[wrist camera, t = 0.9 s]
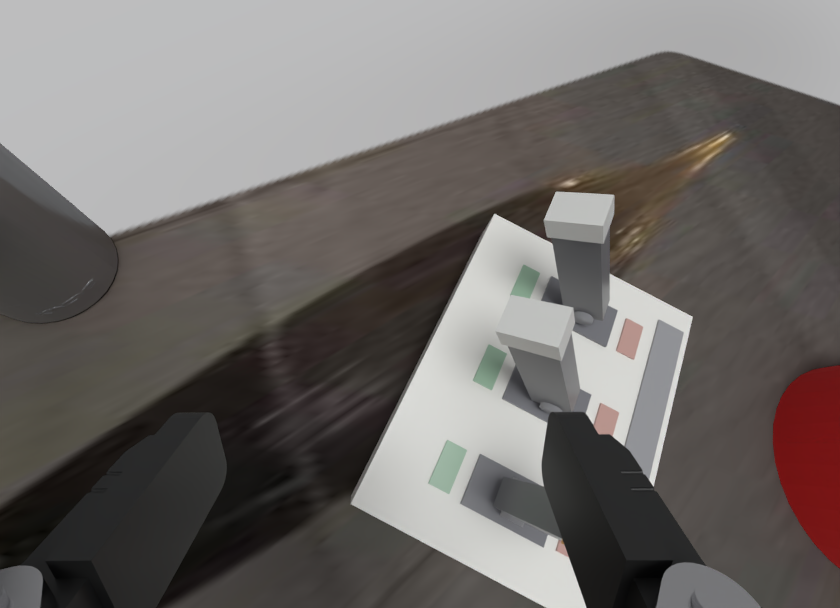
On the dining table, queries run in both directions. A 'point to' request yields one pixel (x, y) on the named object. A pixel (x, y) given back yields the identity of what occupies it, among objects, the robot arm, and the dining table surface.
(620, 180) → the dining table surface
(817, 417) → the toy clock
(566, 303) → the lever
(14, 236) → the robot arm
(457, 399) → the panel
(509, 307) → the breaker mid
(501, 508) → the lever
